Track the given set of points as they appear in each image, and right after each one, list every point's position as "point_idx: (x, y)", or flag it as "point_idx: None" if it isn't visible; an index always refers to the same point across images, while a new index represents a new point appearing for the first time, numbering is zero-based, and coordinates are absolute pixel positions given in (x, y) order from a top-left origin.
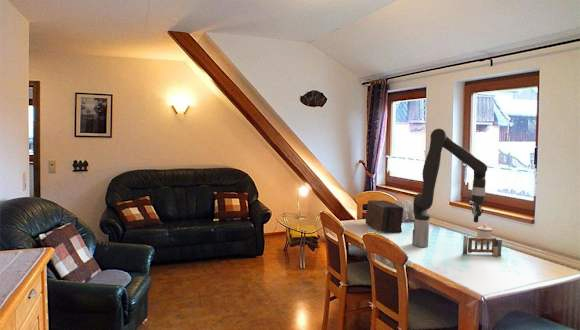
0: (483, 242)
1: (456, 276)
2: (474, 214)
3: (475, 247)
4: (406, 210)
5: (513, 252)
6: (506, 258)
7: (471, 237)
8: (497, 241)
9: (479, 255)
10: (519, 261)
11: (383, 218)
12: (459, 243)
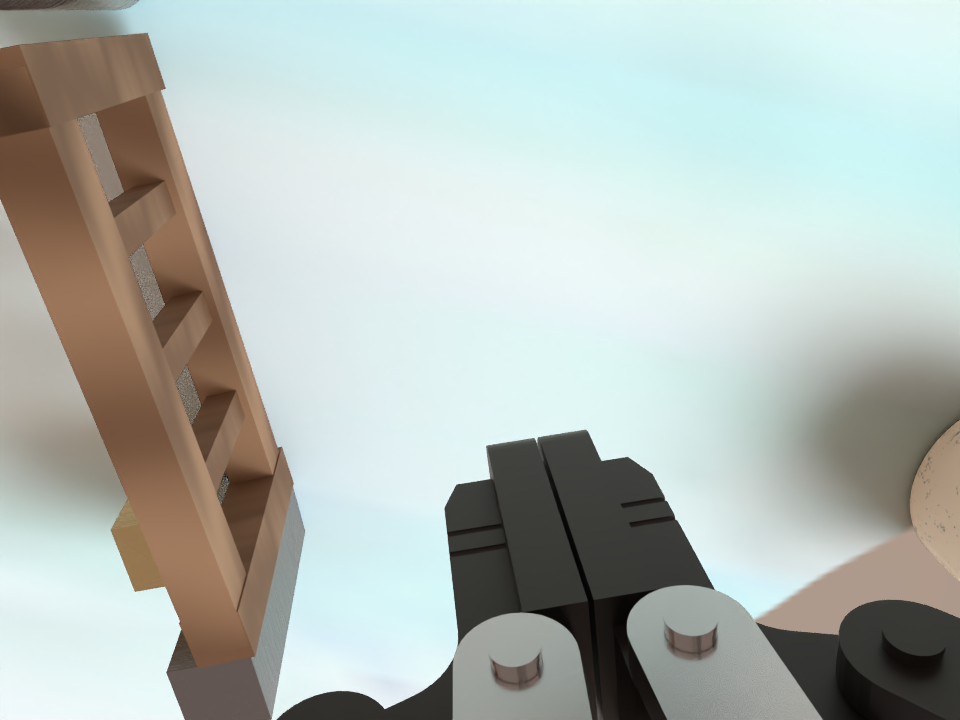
0: (924, 462)
1: None
2: (639, 674)
3: (122, 195)
4: None
5: None
6: (126, 579)
7: (49, 134)
8: (186, 645)
9: None
10: (44, 692)
11: None
12: (877, 43)
